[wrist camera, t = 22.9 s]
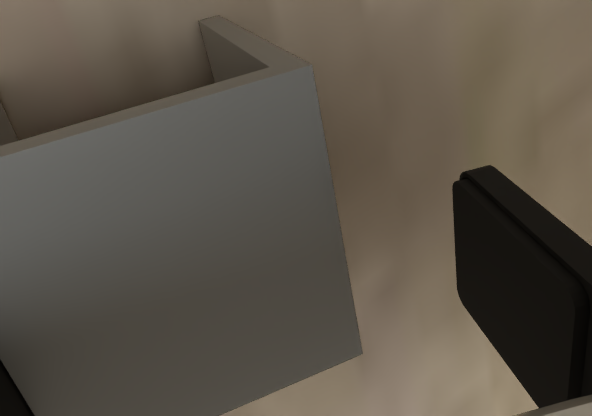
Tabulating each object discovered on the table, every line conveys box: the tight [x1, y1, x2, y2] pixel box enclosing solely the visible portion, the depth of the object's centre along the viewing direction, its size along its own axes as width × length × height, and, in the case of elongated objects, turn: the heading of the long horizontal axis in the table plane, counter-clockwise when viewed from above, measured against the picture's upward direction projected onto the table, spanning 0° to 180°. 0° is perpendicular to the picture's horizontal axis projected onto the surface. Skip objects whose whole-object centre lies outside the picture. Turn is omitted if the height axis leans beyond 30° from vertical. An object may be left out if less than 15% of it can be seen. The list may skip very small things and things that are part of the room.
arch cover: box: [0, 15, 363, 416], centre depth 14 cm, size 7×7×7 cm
